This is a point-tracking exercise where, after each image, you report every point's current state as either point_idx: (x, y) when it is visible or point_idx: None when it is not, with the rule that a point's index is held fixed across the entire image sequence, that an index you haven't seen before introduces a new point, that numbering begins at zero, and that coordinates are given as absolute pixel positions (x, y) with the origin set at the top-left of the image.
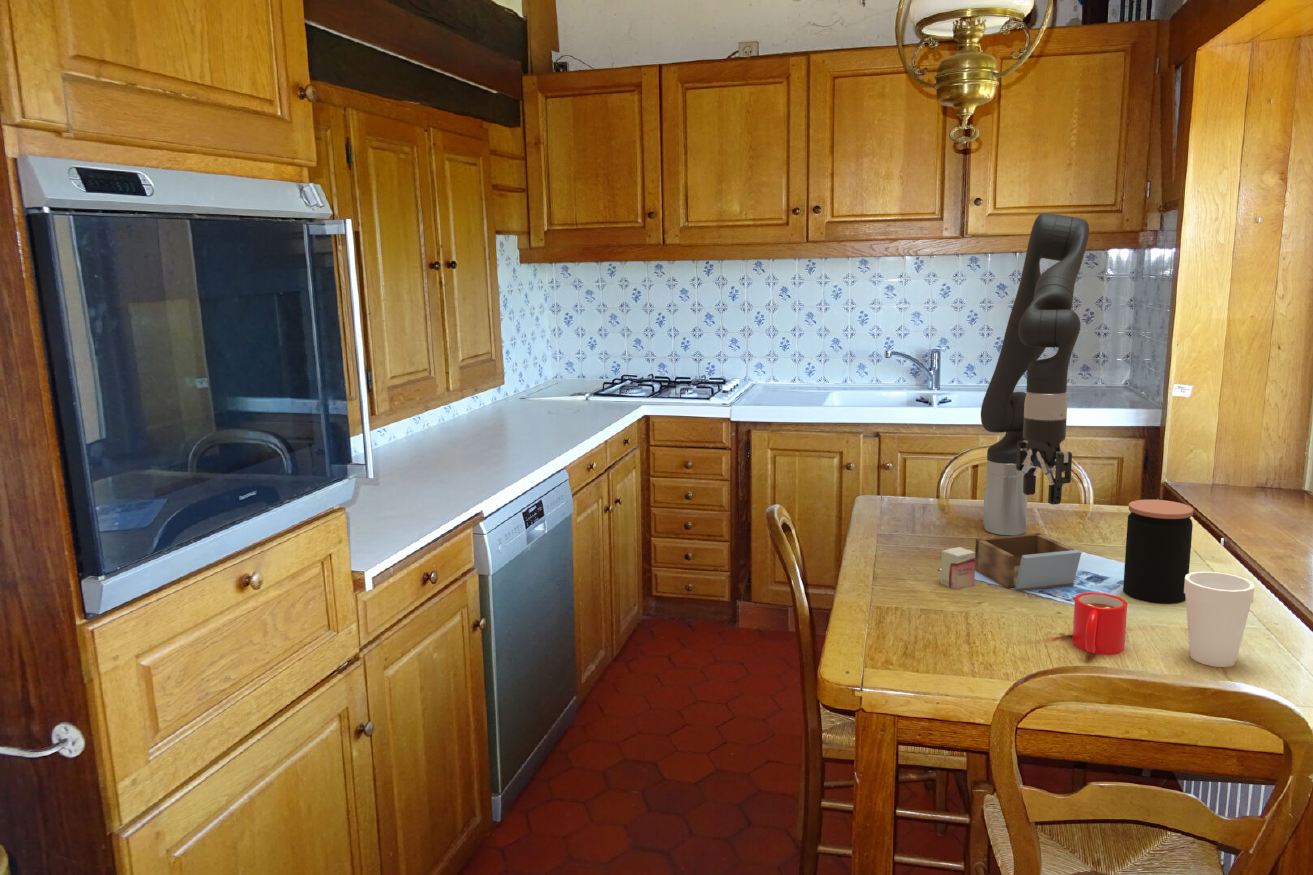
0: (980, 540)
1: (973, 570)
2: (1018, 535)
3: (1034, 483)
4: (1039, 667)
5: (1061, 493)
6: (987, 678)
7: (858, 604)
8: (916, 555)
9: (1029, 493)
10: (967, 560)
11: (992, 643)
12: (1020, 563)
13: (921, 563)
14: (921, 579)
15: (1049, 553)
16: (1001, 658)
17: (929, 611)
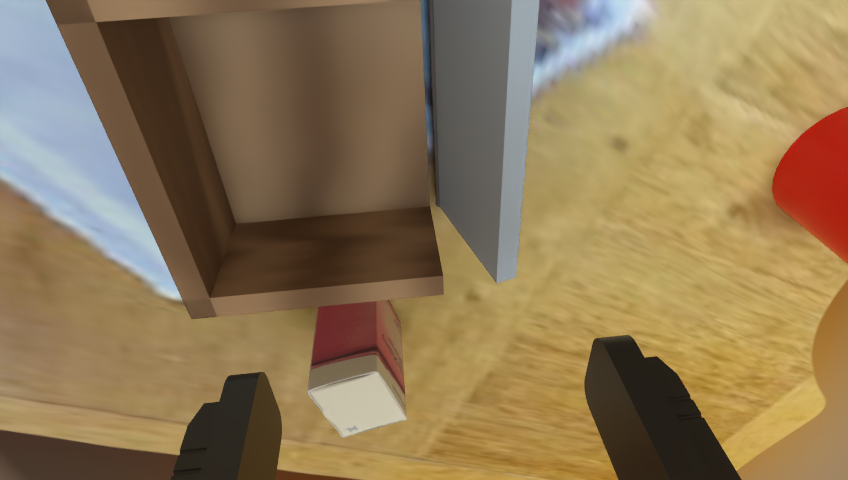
0: (213, 310)
1: (379, 325)
2: (112, 130)
3: (242, 466)
4: (819, 318)
5: (703, 420)
6: (787, 393)
7: (412, 471)
8: (17, 316)
9: (273, 408)
10: (390, 374)
11: (686, 348)
12: (481, 260)
13: (112, 325)
14: (269, 358)
15: (509, 174)
16: (747, 356)
17: (488, 392)
